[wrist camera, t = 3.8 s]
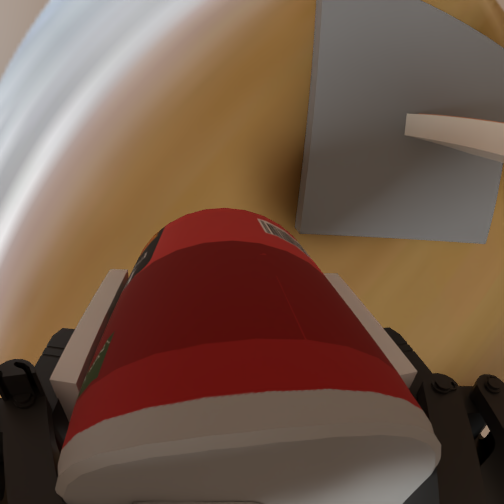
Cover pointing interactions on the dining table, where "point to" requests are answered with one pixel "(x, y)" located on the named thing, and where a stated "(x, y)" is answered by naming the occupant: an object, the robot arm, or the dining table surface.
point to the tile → (459, 133)
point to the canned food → (240, 383)
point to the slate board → (397, 123)
